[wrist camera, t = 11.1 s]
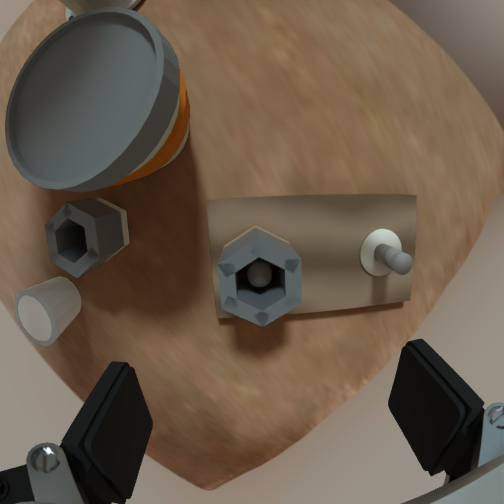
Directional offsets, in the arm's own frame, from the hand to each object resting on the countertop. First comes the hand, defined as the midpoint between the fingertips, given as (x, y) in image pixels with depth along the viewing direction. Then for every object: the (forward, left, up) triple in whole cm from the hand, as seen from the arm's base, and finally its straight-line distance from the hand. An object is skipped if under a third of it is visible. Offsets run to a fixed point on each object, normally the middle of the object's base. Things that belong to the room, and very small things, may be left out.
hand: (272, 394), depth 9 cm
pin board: (0, +7, -21) cm, 22 cm away
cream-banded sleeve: (-4, -16, -21) cm, 27 cm away
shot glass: (+4, -24, -22) cm, 33 cm away
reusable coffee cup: (-14, -10, -21) cm, 27 cm away
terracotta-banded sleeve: (0, 0, -19) cm, 19 cm away
